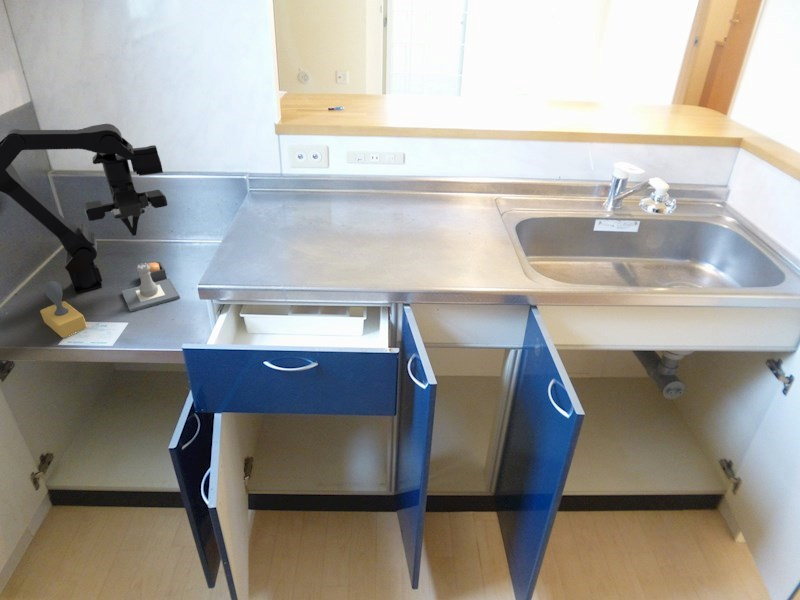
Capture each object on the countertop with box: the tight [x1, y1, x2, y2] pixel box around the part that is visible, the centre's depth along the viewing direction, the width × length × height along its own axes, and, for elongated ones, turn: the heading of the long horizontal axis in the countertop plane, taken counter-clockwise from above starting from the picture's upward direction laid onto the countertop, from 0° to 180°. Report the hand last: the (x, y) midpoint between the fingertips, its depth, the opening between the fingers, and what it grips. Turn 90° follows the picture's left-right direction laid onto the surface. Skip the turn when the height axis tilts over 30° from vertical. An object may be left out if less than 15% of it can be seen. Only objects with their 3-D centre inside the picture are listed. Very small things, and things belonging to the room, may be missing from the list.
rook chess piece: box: [136, 262, 158, 297], centre depth 142 cm, size 4×4×8 cm
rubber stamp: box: [39, 280, 88, 339], centre depth 130 cm, size 10×6×12 cm, turn 50°
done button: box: [147, 262, 160, 272], centre depth 151 cm, size 4×4×2 cm
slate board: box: [121, 278, 181, 313], centre depth 145 cm, size 12×10×1 cm
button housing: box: [150, 261, 168, 282], centre depth 152 cm, size 5×5×3 cm
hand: (134, 235), depth 147 cm, fingers closed
